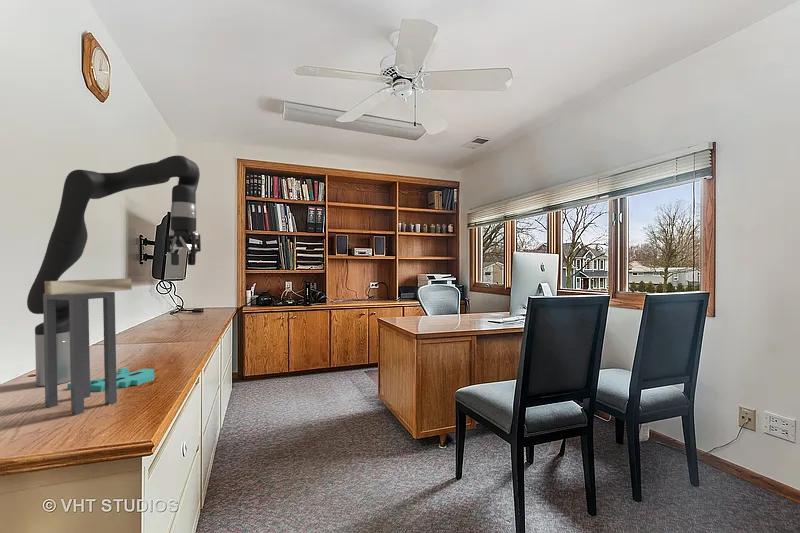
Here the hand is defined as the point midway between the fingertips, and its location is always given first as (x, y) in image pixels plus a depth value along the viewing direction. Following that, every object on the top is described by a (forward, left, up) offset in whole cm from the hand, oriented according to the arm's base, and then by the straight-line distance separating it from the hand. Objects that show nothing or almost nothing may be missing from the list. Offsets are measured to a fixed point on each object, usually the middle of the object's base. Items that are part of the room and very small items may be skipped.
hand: (183, 265), depth 128 cm
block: (-9, -22, -8) cm, 25 cm away
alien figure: (-23, -7, -40) cm, 47 cm away
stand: (-9, -25, -40) cm, 48 cm away
